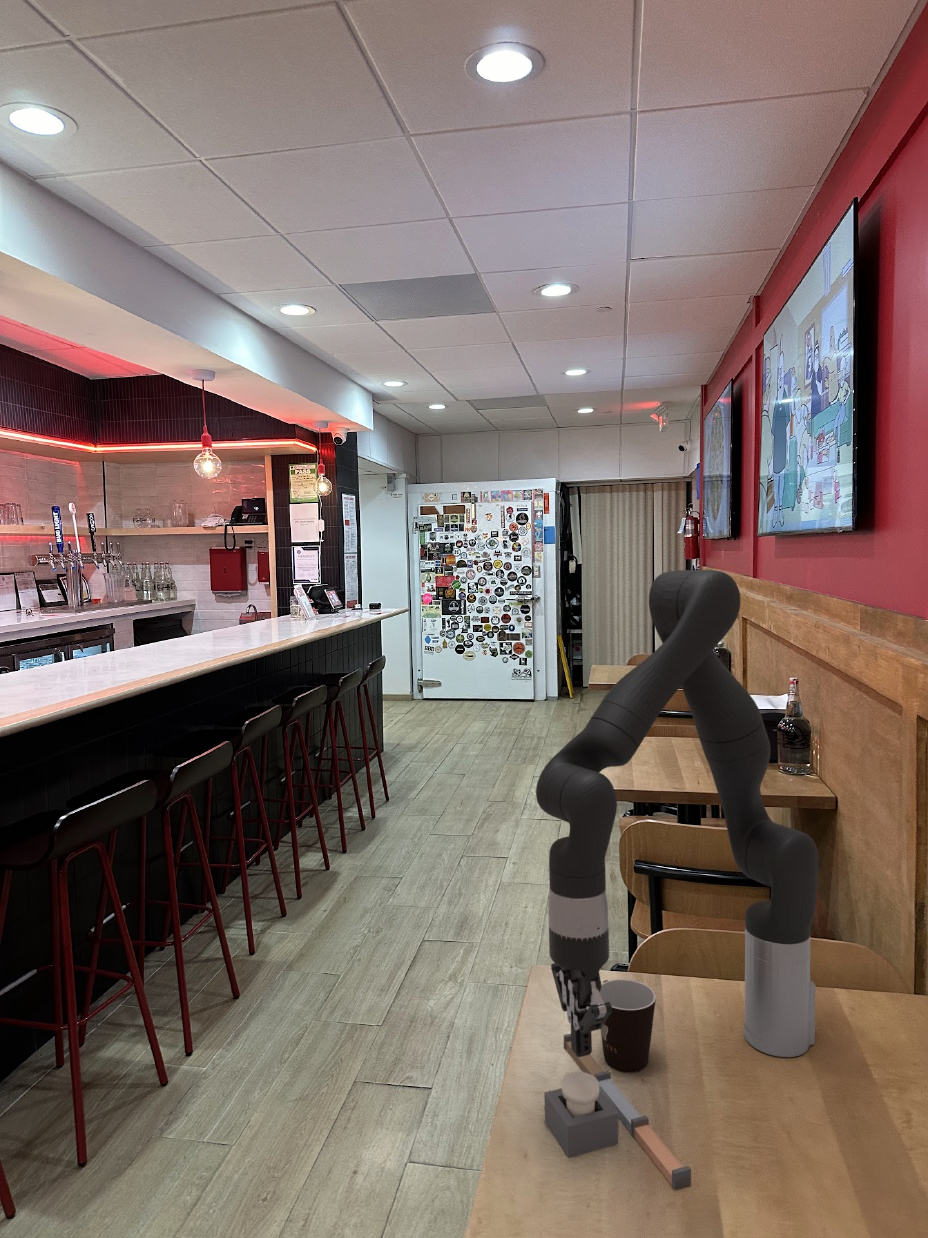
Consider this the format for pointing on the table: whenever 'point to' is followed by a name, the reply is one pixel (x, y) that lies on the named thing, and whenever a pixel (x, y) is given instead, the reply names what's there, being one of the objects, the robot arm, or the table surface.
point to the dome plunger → (580, 1093)
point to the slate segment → (616, 1098)
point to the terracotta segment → (660, 1153)
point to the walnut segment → (582, 1059)
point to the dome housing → (581, 1125)
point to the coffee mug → (627, 1024)
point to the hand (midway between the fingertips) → (581, 1052)
